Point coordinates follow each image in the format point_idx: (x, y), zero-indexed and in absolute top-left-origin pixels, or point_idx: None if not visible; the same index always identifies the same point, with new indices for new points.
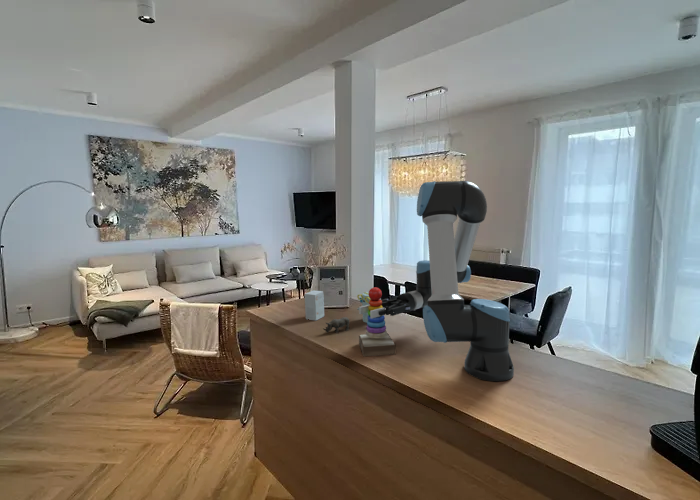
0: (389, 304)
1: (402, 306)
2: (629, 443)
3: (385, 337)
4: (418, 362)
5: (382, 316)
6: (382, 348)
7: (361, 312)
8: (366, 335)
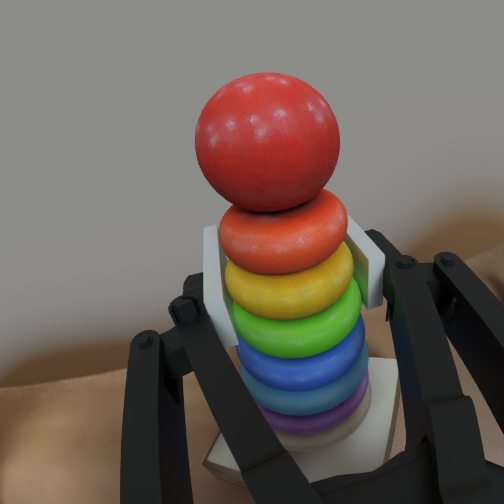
0: (417, 444)
1: (123, 477)
2: None
3: (308, 462)
4: (105, 494)
5: (249, 349)
6: None
7: None
8: (381, 384)
